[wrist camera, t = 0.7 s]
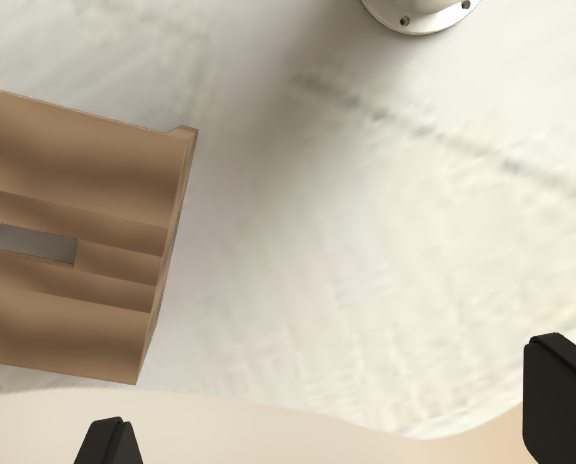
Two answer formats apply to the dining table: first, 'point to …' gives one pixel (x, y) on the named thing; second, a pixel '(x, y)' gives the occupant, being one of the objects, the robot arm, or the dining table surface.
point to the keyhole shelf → (87, 236)
